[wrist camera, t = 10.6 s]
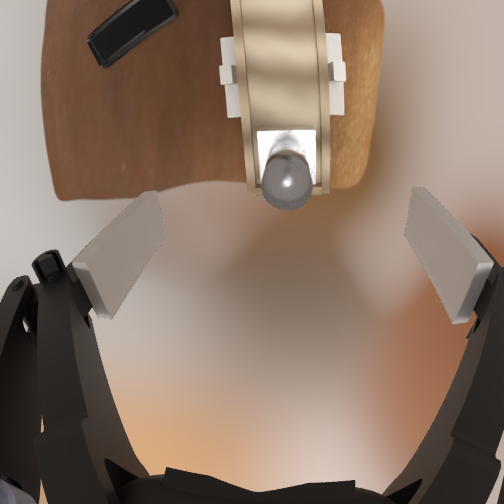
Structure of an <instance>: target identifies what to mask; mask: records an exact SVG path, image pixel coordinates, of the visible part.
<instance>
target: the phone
mask: <svg viewBox="0 0 504 504" xmlns="http://www.w3.org/2000/svg"><path fill="white" fill-rule="evenodd" d="M177 16H178V10H177V8H176V7H175V5H174V3H173V2H172V0H131V1H130V2H128V3H127V4H126V5H124V6H123V7H122V8H120V9H119V10H118V11H117V12H115V13H114V14H113V15H112V16H110V17H109V18H108V19H107V20H106V21H104V22H103V23H102V24H101V25H100V26H99V27H97V28H96V29H95V30H94V31H93V32H92V33H91V34H90V35H89V36H88V38H87V43H88V45H89V47H90V49H91V51H92V53H93V54H94V56H95V58H96V60H97V62H98V64H99V66H100V67H102V68H107V67H109V66H110V65H112V64H113V63H114V62H115V61H116V60H118V59H119V58H120V57H122V56H123V55H124V54H126V53H127V52H128V51H129V50H130V49H132V48H133V47H134V46H136V45H137V44H138V43H140V42H141V41H143V40H144V39H145V38H147V37H148V36H150V35H151V34H153V33H154V32H155V31H157V30H158V29H160V28H162V27H163V26H165V25H166V24H168V23H169V22H171V21H172V20H174V19H175V18H176V17H177Z"/></svg>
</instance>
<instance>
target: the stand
mask: <svg viewBox="0 0 504 504" xmlns="http://www.w3.org/2000/svg"><path fill="white" fill-rule="evenodd" d="M220 41H221V52H222V62H223V65H222V66H219V71H220V81H221V85H225V93H226V104H227V114H228V118H233V117H241V112H240V101H239V90H238V79H237V73H236V70H237V68H236V57H235V46H234V37H226V38H220ZM326 45H327V59H328V67H329V99H330V115H344V85H343V81H346V68H345V62H342V50H341V37H340V34H333V33H326Z"/></svg>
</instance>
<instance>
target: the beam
mask: <svg viewBox="0 0 504 504" xmlns="http://www.w3.org/2000/svg"><path fill="white" fill-rule="evenodd" d="M230 3H231V13H232V24H233V35H234V46H235V57H236V68H237V70H236V73H237V79H238V90H239V101H240V112H241V123H242V134H243V145H244V156H245V167H246V178H247V187H248V194H256V196H258V195H261V196H262V195H263V194H262V190H261V178H260V164H259V151H258V137H257V131H258V129H259V128H260V126H288V125H312V126H313V128H314V129H315V142H316V184H313V190H312V194H311V195H322V193H327V194H329V193H330V99H329V67H328V59H327V45H326V33H325V23H324V13H323V5H322V0H230Z"/></svg>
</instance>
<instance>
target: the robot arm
mask: <svg viewBox="0 0 504 504" xmlns="http://www.w3.org/2000/svg"><path fill="white" fill-rule="evenodd" d="M404 235H405V237H406V238H407V240H408V242H409V243H410V245H411V247H412V248H413V250H414V251H415V253H416V255H417V257H418V258H419V260H420V262H421V264H422V265H423V267H424V269H425V270H426V272H427V274H428V276H429V278H430V280H431V282H432V283H433V285H434V287H435V289H436V291H437V293H438V295H439V297H440V299H441V301H442V303H443V305H444V307H445V309H446V311H447V313H448V315H449V317H450V319H451V321H452V323H453V324H457V323H464V322H468V320H469V318H470V316H471V314H472V312H473V310H474V311H475V313H476V315H477V319H476V321H475V323H474V324H473V326H472V328H471V330H470V332H469V334H468V335H467V337H466V338H467V339H469V340H468V343H467V346H466V349H465V352H464V355H463V357H462V360H461V362H460V365H459V367H458V370H457V372H456V375H455V377H454V379H453V382H452V384H451V387H450V389H449V391H448V393H447V395H446V398H445V400H444V402H443V404H442V406H441V408H440V410H439V412H438V414H437V416H436V418H435V420H434V421H433V423H432V425H431V427H430V429H429V430H428V432H427V434H426V436H425V437H424V439H423V441H422V443H421V444H420V446H419V447H418V449H417V451H416V452H415V454H414V456H413V458H412V459H411V460H410V462H409V463H408V465H407V466H406V468H405V469H404V470H403V471H402V473H401V474H400V475H399V476H398V477H397V478H396V479H395V480H394V481H393V482H392V483H391V484H390V485H389V487H388V488H387V489H386V490H385V492H384V493H383V494H382V495H381V494H379V493H376V492H374V491H371V490H367V489H363V488H357V487H355V480H351V481H339V482H325V483H323V482H321V483H306V484H302V485H297V486H292V487H287V488H282V489H277V490H271V491H265V492H253V491H250V490H247V489H244V488H241V487H238V486H235V485H232V484H229V483H227V482H224V481H221V480H219V479H216V478H214V477H211V476H208V475H202V474H197V473H191V472H187V471H182V470H177V469H173V468H169V467H166V471H165V474H162V475H152V476H150V475H149V473H148V472H147V470H146V469H145V467H144V466H143V465H142V464H141V462H140V461H139V460H138V458H137V457H136V455H135V453H134V451H133V449H132V446H131V444H130V442H129V439H128V437H127V434H126V432H125V430H124V427H123V424H122V422H121V419H120V416H119V414H118V411H117V408H116V405H115V403H114V400H113V397H112V394H111V391H110V387H109V384H108V381H107V378H106V374H105V371H104V368H103V364H102V361H101V357H100V353H99V349H98V345H97V341H96V337H95V333H94V328H93V323H92V319H91V317H90V316H89V314H88V312H89V311H90V309H91V308H92V307H93V309H94V311H95V313H96V315H97V317H99V318H104V319H113V317H114V316H115V314H116V312H117V311H118V309H119V308H120V306H121V304H122V303H123V301H124V300H125V298H126V296H127V295H128V293H129V292H130V290H131V288H132V287H133V285H134V284H135V282H136V281H137V279H138V278H139V276H140V275H141V273H142V272H143V270H144V268H145V267H146V265H147V264H148V262H149V261H150V259H151V258H152V256H153V255H154V254H155V252H156V251H157V249H158V248H159V246H160V245H161V243H162V242H163V241H164V239H165V238H166V236H167V235H166V231H165V226H164V222H163V218H162V214H161V209H160V205H159V200H158V196H157V191H146V192H143V193H142V194H141V195H140V196H139V197H137V198H136V199H135V200H134V201H133V202H132V203H131V204H130V205H129V206H127V207H126V208H125V209H124V210H123V211H122V212H121V213H120V214H119V215H118V216H117V217H116V218H115V219H114V220H113V221H112V222H110V223H109V224H108V225H107V226H106V227H105V228H104V229H103V230H102V231H101V232H100V233H99V234H98V235H97V236H96V237H95V238H94V239H93V240H92V241H91V242H90V243H89V244H88V245H87V246H86V247H85V248H84V249H83V250H82V251H81V252H80V254H78V255H77V257H75V258H74V259H73V261H72V262H71V263H70V264H69V265H68V266H67V267H65V265H64V263H63V261H62V258H61V256H60V254H59V251H58V250H50V251H46V252H44V253H43V254H41V255H39V256H38V257H37V258H36V259H35V260H34V261H33V263H32V267H33V269H34V271H35V273H36V275H37V277H38V279H39V281H40V283H39V284H34V285H33V284H32V283H31V280H30V279H29V277H28V276H26V275H24V276H21V277H17V278H16V279H14V280H13V281H12V283H11V284H10V285H9V286H8V288H7V289H6V292H5V294H4V296H3V298H2V300H1V302H0V504H39V498H40V484H41V481H40V480H42V485H43V488H44V492H45V495H46V499H47V502H48V504H486V502H487V499H488V497H489V495H490V493H491V491H492V489H493V487H494V485H495V482H496V480H497V478H498V475H499V472H500V469H501V461H500V460H498V459H496V457H495V454H496V451H497V448H498V445H499V442H500V439H501V436H502V433H503V430H504V267H501V266H500V265H499V264H498V263H497V261H496V260H495V259H494V257H493V256H492V255H491V254H490V253H489V252H488V250H487V249H486V248H485V247H483V245H482V243H481V242H480V241H479V240H478V239H477V238H476V237H475V236H473V235H472V234H470V233H469V232H468V231H467V230H466V229H465V228H464V227H463V226H462V225H461V223H460V222H459V221H458V220H457V219H456V218H455V217H454V216H453V215H452V214H451V213H450V212H449V211H448V210H447V209H446V208H445V207H444V206H443V205H442V204H441V203H440V202H439V201H438V200H437V199H436V198H435V197H434V196H433V195H432V194H431V193H430V192H429V191H428V190H427V189H425V188H420V187H412V193H411V199H410V205H409V212H408V218H407V223H406V228H405V234H404ZM23 321H24V322H25V324H26V325H27V327H28V331H27V332H26V331H25V328H24V326H23ZM42 418H43V425H44V431H43V433H41V419H42ZM497 504H504V478H503V482H502V486H501V490H500V494H499V498H498V502H497Z"/></svg>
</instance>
